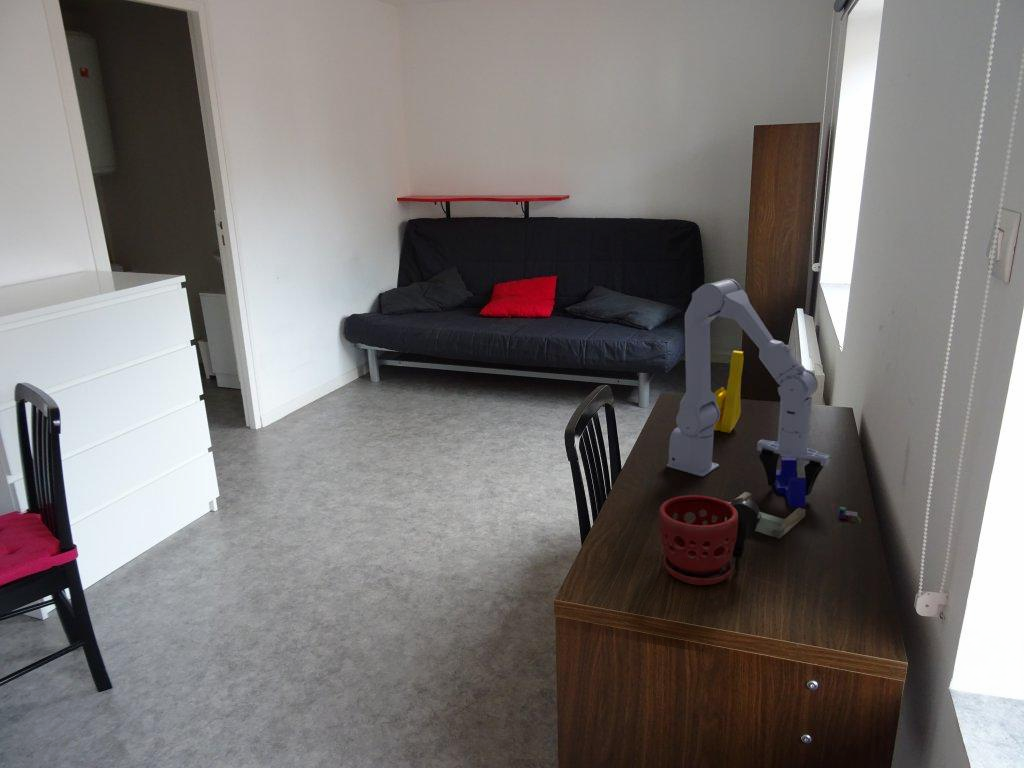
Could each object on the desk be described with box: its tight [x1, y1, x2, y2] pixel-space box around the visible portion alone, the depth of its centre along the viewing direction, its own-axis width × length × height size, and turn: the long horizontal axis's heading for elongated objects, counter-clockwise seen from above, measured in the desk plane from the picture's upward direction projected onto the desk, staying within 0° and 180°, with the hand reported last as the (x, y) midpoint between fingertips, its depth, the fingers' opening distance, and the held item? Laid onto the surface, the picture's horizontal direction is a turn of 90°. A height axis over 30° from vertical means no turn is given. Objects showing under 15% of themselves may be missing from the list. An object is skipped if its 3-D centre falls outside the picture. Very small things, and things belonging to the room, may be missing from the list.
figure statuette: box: [713, 350, 745, 434], centre depth 188 cm, size 18×8×22 cm, turn 155°
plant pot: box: [658, 494, 738, 586], centre depth 124 cm, size 13×13×12 cm
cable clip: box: [773, 456, 806, 508], centre depth 153 cm, size 12×4×6 cm, turn 169°
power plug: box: [727, 498, 761, 572], centre depth 126 cm, size 6×8×12 cm
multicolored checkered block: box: [838, 506, 862, 524], centre depth 142 cm, size 4×3×2 cm, turn 66°
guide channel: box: [724, 491, 806, 539], centre depth 144 cm, size 13×12×3 cm
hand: (789, 488), depth 153 cm, fingers open, 7 cm apart
